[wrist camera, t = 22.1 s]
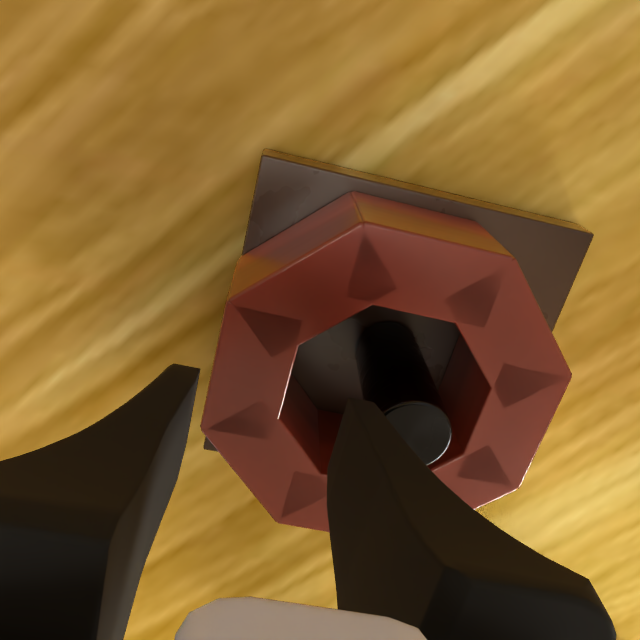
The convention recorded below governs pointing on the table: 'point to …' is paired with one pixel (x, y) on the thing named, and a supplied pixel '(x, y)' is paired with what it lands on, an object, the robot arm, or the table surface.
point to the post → (393, 325)
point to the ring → (395, 293)
